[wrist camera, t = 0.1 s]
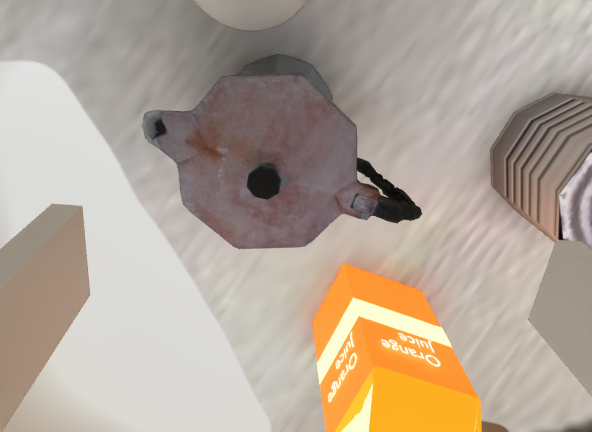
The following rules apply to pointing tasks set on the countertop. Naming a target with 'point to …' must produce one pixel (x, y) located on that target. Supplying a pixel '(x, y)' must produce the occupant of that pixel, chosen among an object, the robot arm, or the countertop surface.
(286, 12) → the milk bottle
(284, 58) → the moka pot
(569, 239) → the can
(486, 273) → the countertop surface
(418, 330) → the orange juice
